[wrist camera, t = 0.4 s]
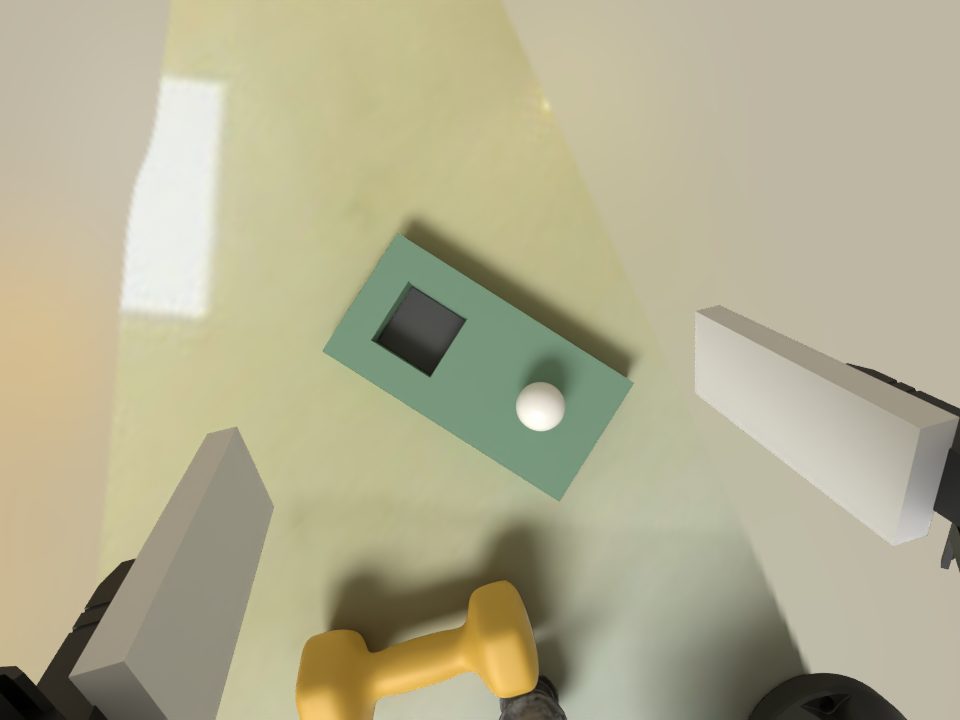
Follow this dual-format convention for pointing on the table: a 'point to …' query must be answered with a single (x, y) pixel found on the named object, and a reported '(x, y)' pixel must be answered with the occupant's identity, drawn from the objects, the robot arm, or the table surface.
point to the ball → (540, 406)
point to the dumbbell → (420, 660)
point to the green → (475, 365)
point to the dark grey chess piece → (533, 704)
